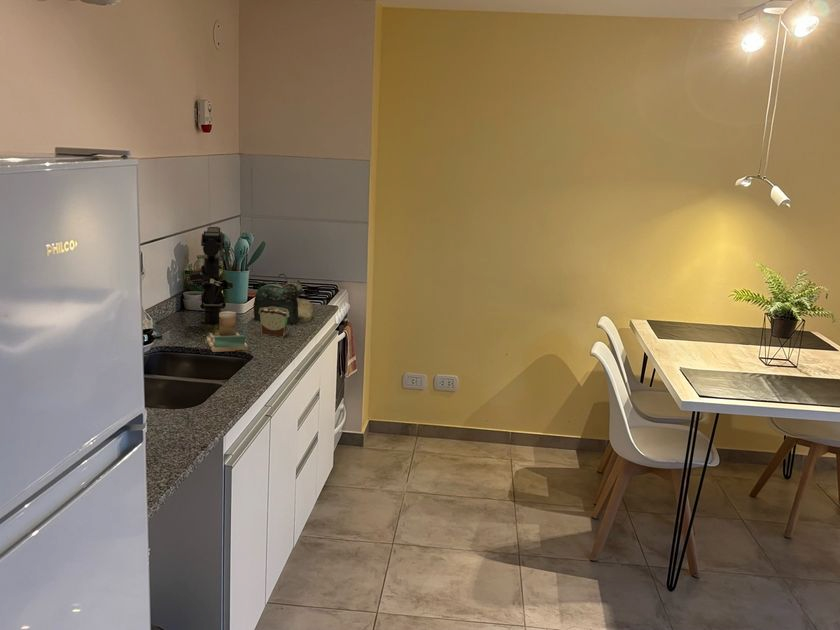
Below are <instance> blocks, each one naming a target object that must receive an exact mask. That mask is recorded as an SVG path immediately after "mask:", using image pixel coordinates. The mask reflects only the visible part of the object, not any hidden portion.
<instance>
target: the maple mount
mask: <svg viewBox="0 0 840 630" xmlns="http://www.w3.org/2000/svg"><path fill="white" fill-rule="evenodd" d="M206 342H207V345H208V346H209V348H210V347H211V348H210V350H211V351H212V353H214V352H215V353H216V352H217V353H218V352H220V353H221V352H236V350H237V352H239V351H238V350H243V351H249V349H248V348H249V347H248V344H247V343H246V336H245V335H244V334H240V333H239V332H238V331H236V335H231V336H219V335H214V334H213V332H208V336H207V335H206Z"/></svg>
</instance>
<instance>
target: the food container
mask: <svg viewBox="0 0 840 630" xmlns="http://www.w3.org/2000/svg"><path fill="white" fill-rule="evenodd" d="M259 313H260V320H261V321H260V330H261V331H260V332H261V335H262V334H264V335H263V336H269V335H274V336H273V337H276V336H282V337H284V336H285V337H286V335H287V334H286V333H287V326H288V324H287V318H288V317H289V312H288V310H287V309H285V308H280V307H274V306H270V307H264V308H260V310H259ZM259 313H258V314H259ZM282 337H281V338H282ZM285 337H284V338H285Z"/></svg>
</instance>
